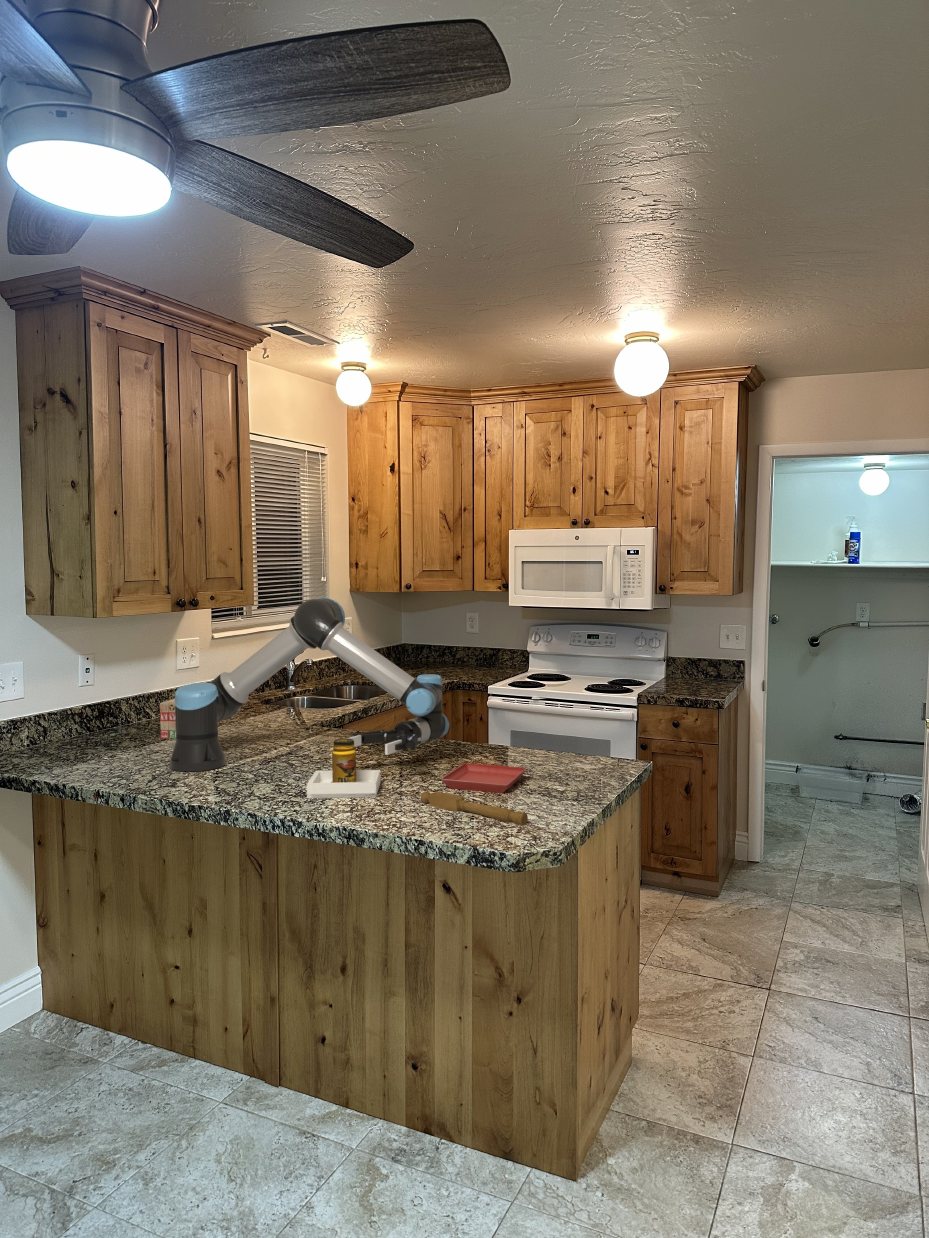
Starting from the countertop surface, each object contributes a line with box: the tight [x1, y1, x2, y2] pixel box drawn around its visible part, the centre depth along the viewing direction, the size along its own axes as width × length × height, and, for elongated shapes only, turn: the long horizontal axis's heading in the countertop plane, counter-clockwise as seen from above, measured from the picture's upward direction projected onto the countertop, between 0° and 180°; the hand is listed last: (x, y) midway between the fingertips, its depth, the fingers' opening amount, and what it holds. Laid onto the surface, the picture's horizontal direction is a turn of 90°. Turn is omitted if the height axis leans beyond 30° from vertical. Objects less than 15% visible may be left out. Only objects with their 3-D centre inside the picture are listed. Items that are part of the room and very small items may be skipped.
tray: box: [306, 769, 382, 799], centre depth 213 cm, size 17×14×4 cm
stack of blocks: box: [159, 698, 176, 740], centre depth 291 cm, size 21×6×12 cm, turn 170°
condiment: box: [330, 737, 357, 783], centre depth 213 cm, size 7×8×12 cm
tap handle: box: [420, 791, 529, 826], centre depth 192 cm, size 3×3×30 cm
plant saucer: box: [440, 762, 527, 794], centre depth 218 cm, size 18×18×3 cm
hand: (365, 746), depth 219 cm, fingers open, 13 cm apart
